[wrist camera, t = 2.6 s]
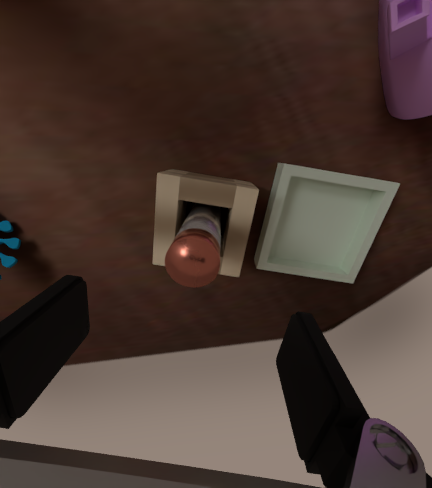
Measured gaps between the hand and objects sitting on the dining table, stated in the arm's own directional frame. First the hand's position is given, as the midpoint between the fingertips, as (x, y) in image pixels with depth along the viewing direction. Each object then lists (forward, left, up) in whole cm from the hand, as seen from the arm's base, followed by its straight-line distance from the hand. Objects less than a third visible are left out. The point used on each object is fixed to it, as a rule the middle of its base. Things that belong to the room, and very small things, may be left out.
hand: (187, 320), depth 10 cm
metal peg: (0, 0, -18) cm, 18 cm away
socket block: (0, 0, -18) cm, 18 cm away
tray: (-1, +13, -18) cm, 22 cm away
